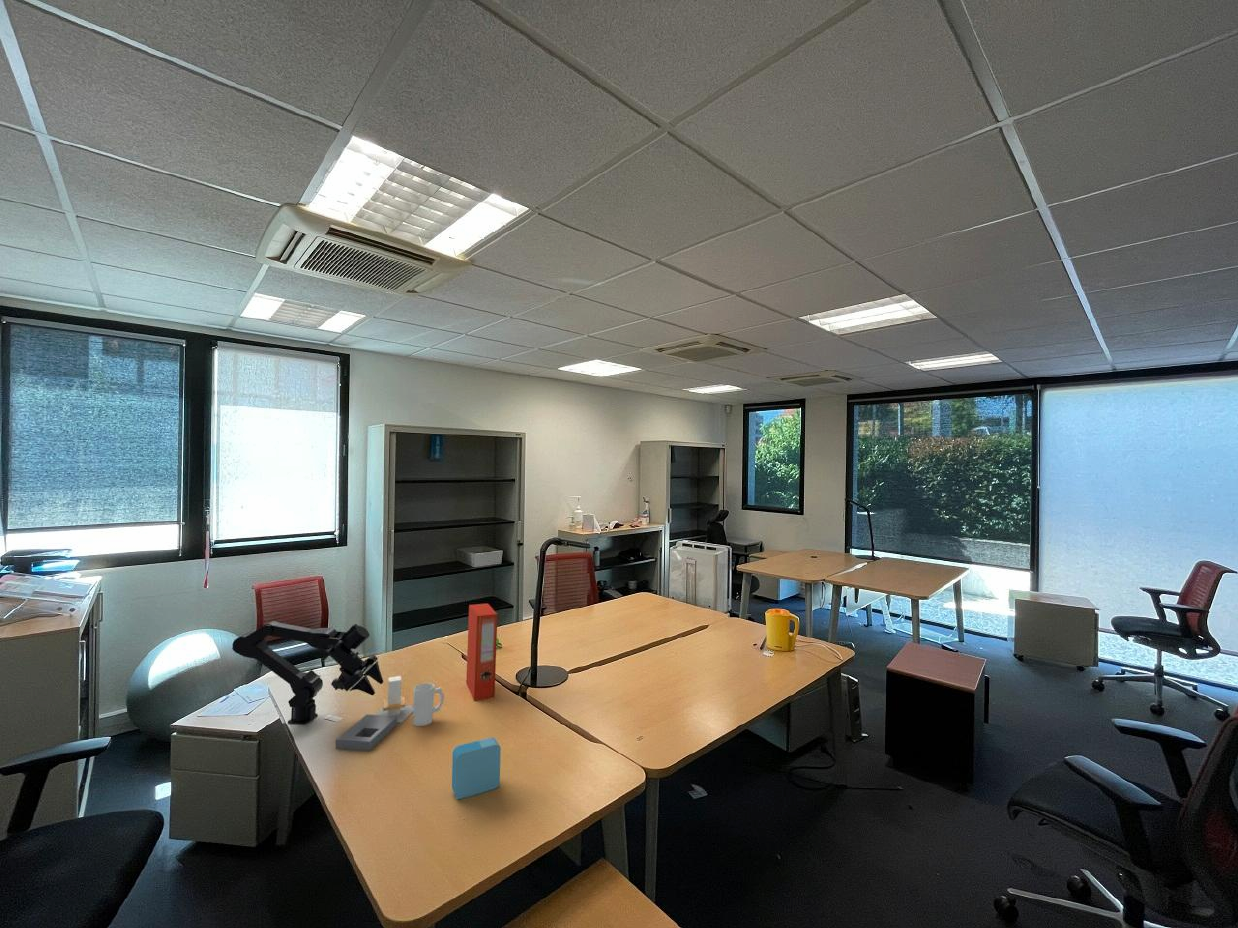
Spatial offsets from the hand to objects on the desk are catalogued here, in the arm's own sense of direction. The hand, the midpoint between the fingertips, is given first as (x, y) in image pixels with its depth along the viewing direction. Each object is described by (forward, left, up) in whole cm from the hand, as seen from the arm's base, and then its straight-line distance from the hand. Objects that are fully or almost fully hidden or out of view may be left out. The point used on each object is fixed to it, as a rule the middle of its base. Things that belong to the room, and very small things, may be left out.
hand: (378, 688), depth 172 cm
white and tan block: (+5, +1, -9) cm, 10 cm away
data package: (+49, -36, -10) cm, 62 cm away
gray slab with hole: (+5, -14, -9) cm, 17 cm away
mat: (+5, +1, -9) cm, 11 cm away
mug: (+19, -2, -10) cm, 22 cm away
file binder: (+28, +24, -10) cm, 39 cm away
